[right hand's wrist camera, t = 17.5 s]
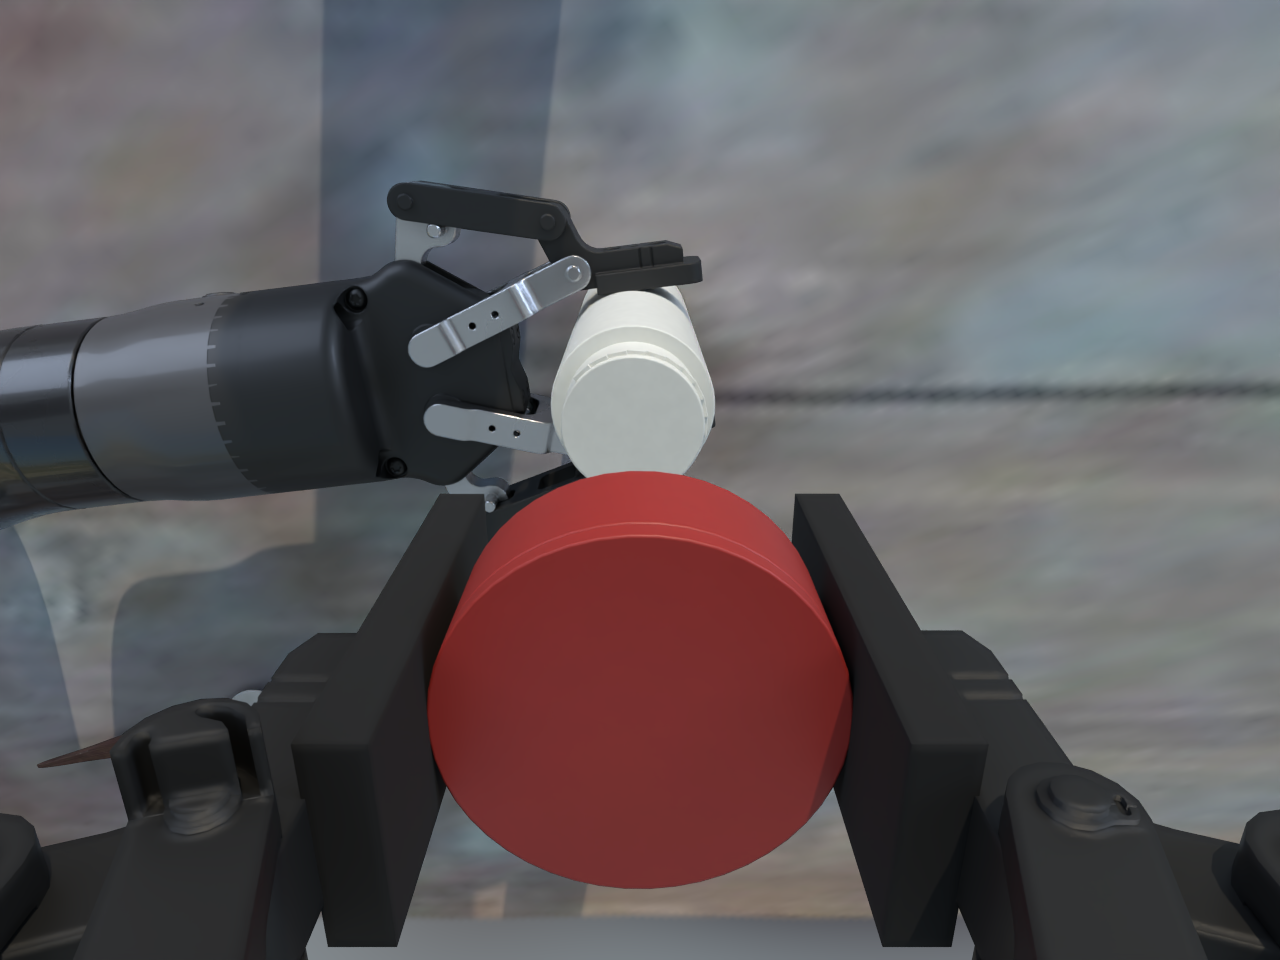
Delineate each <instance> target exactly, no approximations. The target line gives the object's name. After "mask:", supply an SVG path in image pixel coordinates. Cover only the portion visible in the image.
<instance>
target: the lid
mask: <svg viewBox="0 0 1280 960" xmlns="http://www.w3.org/2000/svg"><path fill="white" fill-rule="evenodd" d="M852 712H853V693H852V688H851V682H850V677H849V672H848V669H847V666H846V663H845V660H844V658H843V655H842V652H841V649H840V647H839V644H838V642H837V640H836V637H835V635H834V632H833V630H832V627H831V625H830V623H829V620H828V618H827V615H826V613H825V610H824V608H823V606H822V603H821V601H820V598H819V596H818V593H817V591H816V589H815V586H814V584H813V581H812V579H811V576H810V574H809V572H808V569H807V568H806V566H805V564H804V562H803V560H802V558H801V556H800V555H799V553H798V551H797V550H796V548H795V547H794V546H793V544H792V543H791V542H790V540H789V539H788V538H787V536H786V535H785V534H784V532H783V531H782V530H781V529H780V528H779V527H778V526H777V525H776V524H775V523H774V522H773V521H772V520H771V519H770V518H769V517H767V516H766V515H765V514H763V513H762V512H761V511H760V510H758V509H757V508H756V507H754V506H753V505H752V504H750V503H749V502H747V501H745V500H744V499H742V498H740V497H738V496H737V495H735V494H733V493H731V492H730V491H728V490H725V489H723V488H720V487H718V486H716V485H713V484H711V483H708V482H706V481H702V480H699V479H695V478H691V477H687V476H684V475H679V474H672V473H664V472H657V471H625V472H616V473H607V474H602V475H597V476H593V477H589V478H585V479H580V480H578V481H575V482H572V483H570V484H567V485H564V486H562V487H559V488H557V489H555V490H553V491H551V492H549V493H547V494H545V495H543V496H541V497H540V498H538V499H536V500H534V501H533V502H531V503H530V504H529V505H527V506H526V507H524V508H523V509H522V510H520V511H519V512H517V513H516V514H515V515H514V516H513V517H512V518H511V519H510V520H509V521H508V522H507V523H505V524H504V525H503V526H502V527H501V528H500V529H499V530H498V532H497V533H496V534H495V535H494V537H493V538H492V539H491V540H490V542H489V543H488V544H487V545H486V546H485V548H484V550H483V551H482V553H481V555H480V557H479V558H478V560H477V562H476V563H475V565H474V567H473V570H472V572H471V575H470V577H469V579H468V582H467V584H466V587H465V589H464V592H463V594H462V597H461V599H460V601H459V604H458V606H457V609H456V611H455V614H454V616H453V618H452V621H451V623H450V626H449V628H448V631H447V633H446V636H445V638H444V640H443V643H442V645H441V648H440V650H439V653H438V655H437V658H436V660H435V663H434V665H433V669H432V673H431V678H430V682H429V687H428V695H427V717H428V726H429V736H430V743H431V748H432V752H433V756H434V759H435V762H436V764H437V767H438V769H439V771H440V774H441V776H442V779H443V781H444V783H445V784H446V786H447V788H448V789H449V791H450V793H451V794H452V796H453V798H454V799H455V801H456V802H457V803H458V805H459V806H460V807H461V808H462V810H463V811H464V812H465V813H466V815H467V816H468V817H469V818H470V819H471V820H472V821H473V822H474V823H475V824H476V825H477V826H478V827H479V828H480V829H481V830H482V831H483V832H484V833H485V834H486V835H487V836H488V837H490V838H491V839H492V840H494V841H495V842H496V843H498V844H499V845H500V846H502V847H503V848H504V849H506V850H507V851H509V852H511V853H512V854H514V855H516V856H517V857H519V858H521V859H523V860H524V861H526V862H528V863H530V864H532V865H534V866H537V867H539V868H541V869H543V870H546V871H548V872H550V873H553V874H556V875H559V876H562V877H565V878H568V879H571V880H574V881H579V882H584V883H588V884H593V885H598V886H606V887H615V888H624V889H654V888H665V887H676V886H681V885H686V884H692V883H697V882H701V881H705V880H708V879H711V878H715V877H718V876H721V875H725V874H727V873H729V872H732V871H734V870H737V869H739V868H741V867H744V866H746V865H748V864H750V863H752V862H754V861H755V860H757V859H759V858H761V857H763V856H765V855H766V854H768V853H770V852H771V851H772V850H774V849H775V848H777V847H778V846H780V845H781V844H782V843H784V842H785V841H787V840H788V839H789V838H790V837H791V836H792V835H794V834H795V833H796V832H797V831H798V830H799V829H800V828H801V827H802V826H803V825H805V824H806V823H807V821H808V820H809V819H810V818H811V817H812V816H813V814H814V813H815V812H816V811H817V810H818V809H819V807H820V806H821V805H822V803H823V802H824V800H825V799H826V797H827V796H828V794H829V793H830V791H831V789H832V788H833V786H834V785H835V782H836V780H837V778H838V776H839V774H840V771H841V769H842V767H843V765H844V762H845V758H846V755H847V751H848V748H849V740H850V731H851V722H852Z"/></svg>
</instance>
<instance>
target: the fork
mask: <svg viewBox="0 0 1280 960" xmlns="http://www.w3.org/2000/svg"><path fill="white" fill-rule="evenodd" d="M261 692H262V691H260V690H245V691H242V692H240V693H239V694H237V695H236V696H234V697H233V698H232V699H233V700H238V701H242V702H246V703H248V704H249V705H250V706H252V705H253V703H254V702H257V701H258V696H259V695H260V693H261ZM121 736H122V735H121ZM121 736H118V737H115V738H112V739H109V740H107V741H104V742H101V743H98V744H96V745H93V746H90V747H87V748H84V749H81V750H78V751H75V752H72V753H68V754H65V755H62V756H59V757H56V758H53V759H50V760H47V761H45V762H42V763H40V764H38V765H37V766H38V768H45V767H53V766H60V765H67V764H73V763H79V762H85V761H92V760H99V759H106V758H111V756H110V753H109V751H110V750H111V749H112V747H113V746H114V745H115V743H116V742H117V741H118V740H119V738H120V737H121Z"/></svg>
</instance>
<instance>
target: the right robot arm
mask: <svg viewBox="0 0 1280 960" xmlns="http://www.w3.org/2000/svg"><path fill="white" fill-rule="evenodd" d="M487 544H488V538H487V525H486V511H485V497H484V494H440V495H439V497H438V498H437V500H436V502H435V504H434V505H433V507H432V509H431V510H430V512H429V514H428V515H427V517H426V519H425V520H424V522H423V524H422V525H421V527H420V529H419V530H418V532H417V534H416V535H415V537H414V539H413V540H412V542H411V544H410V545H409V547H408V549H407V550H406V552H405V554H404V555H403V557H402V559H401V560H400V562H399V564H398V565H397V567H396V569H395V570H394V572H393V574H392V575H391V577H390V579H389V580H388V582H387V584H386V585H385V587H384V589H383V590H382V592H381V594H380V596H379V597H378V599H377V601H376V602H375V604H374V606H373V607H372V609H371V611H370V612H369V614H368V616H367V617H366V619H365V621H364V622H363V624H362V626H361V627H360V629H359V631H358V632H357V633H318V634H316V635H315V636H313V637H312V638H310V639H309V640H308V641H306V642H305V643H303V644H302V645H300V646H299V647H297V648H296V649H295V650H293V651H292V652H290V653H289V654H288V655H287V657H286V658H285V660H284V661H283V662H282V664H281V665H280V667H279V668H278V669H277V671H276V672H275V674H274V675H273V676H272V681H271V682H268V683H267V685H266V686H265V688H264V689H263V690H262V692H261V693H260V695H259V696H258V701H257V702H254V703H253V705H252V706H250V705H249V704H248V703H246V702H242V701H238V700H233V699H229V698H214V699H199V700H195V701H191V702H187V703H183V704H179V705H175V706H171V707H169V708H167V709H165V710H162V711H160V712H158V713H156V714H153V715H151V716H149V717H147V718H145V719H143V720H142V721H141V722H139V723H138V724H136V725H135V726H133V727H132V728H131V729H129V730H128V731H126V732H125V733H124V734H123V735H122V736H121V737H120V738H119V740H118V741H117V742H116V743H115V745H114V746H113V747H112V749H111V750H110V751H109V753H110V756H111V760H112V763H113V767H114V771H115V774H116V778H117V781H118V785H119V788H120V792H121V795H122V799H123V802H124V806H125V809H126V813H127V817H128V820H129V821H128V823H127V826H126V827H124V828H120V829H117V830H113V831H110V832H107V833H103V834H98V835H94V836H89V837H85V838H80V839H76V840H72V841H67V842H63V843H58V844H54V845H50V846H45V847H41V846H40V843H39V840H38V837H37V834H36V831H35V828H34V826H33V825H31V824H30V823H29V822H28V821H27V820H25V819H24V818H23V817H22V816H17V815H9V814H2V813H0V960H308V958H307V952H306V945H307V943H308V940H309V938H310V936H311V933H312V931H313V928H314V926H315V924H316V922H317V919H318V917H319V914H320V912H321V911H322V917H323V922H324V928H325V933H326V938H327V944H328V947H397V945H398V942H399V938H400V935H401V932H402V929H403V925H404V922H405V919H406V916H407V912H408V909H409V906H410V903H411V899H412V896H413V893H414V890H415V886H416V883H417V880H418V877H419V873H420V870H421V867H422V864H423V861H424V857H425V854H426V851H427V848H428V844H429V841H430V838H431V835H432V831H433V828H434V825H435V822H436V818H437V815H438V812H439V809H440V805H441V802H442V799H443V796H444V792H445V789H446V784H445V783H444V781H443V779H442V776H441V774H440V771H439V769H438V767H437V764H436V762H435V759H434V756H433V752H432V748H431V743H430V736H429V726H428V717H427V695H428V687H429V682H430V678H431V673H432V669H433V665H434V663H435V660H436V658H437V655H438V653H439V650H440V648H441V645H442V643H443V640H444V638H445V636H446V633H447V631H448V628H449V626H450V623H451V621H452V618H453V616H454V614H455V611H456V609H457V606H458V604H459V601H460V599H461V597H462V594H463V592H464V589H465V587H466V584H467V582H468V579H469V577H470V575H471V572H472V570H473V567H474V565H475V563H476V562H477V560H478V558H479V557H480V555H481V553H482V551H483V550H484V548H485V546H486V545H487ZM792 544H793V546H794V547H795V548H796V550H797V551H798V553H799V555H800V556H801V558H802V560H803V562H804V564H805V566H806V568H807V569H808V572H809V574H810V576H811V579H812V581H813V584H814V586H815V589H816V591H817V593H818V596H819V598H820V601H821V603H822V606H823V608H824V610H825V613H826V615H827V618H828V620H829V623H830V625H831V627H832V630H833V632H834V635H835V637H836V640H837V642H838V644H839V647H840V649H841V652H842V655H843V658H844V660H845V663H846V666H847V669H848V672H849V677H850V682H851V688H852V693H853V712H852V722H851V731H850V740H849V748H848V751H847V755H846V758H845V762H844V765H843V767H842V769H841V771H840V774H839V776H838V778H837V780H836V782H835V785H834V786H833V788H834V791H835V794H836V797H837V801H838V804H839V807H840V810H841V814H842V817H843V820H844V823H845V826H846V830H847V833H848V836H849V839H850V843H851V846H852V849H853V852H854V856H855V859H856V862H857V865H858V869H859V872H860V875H861V878H862V882H863V885H864V888H865V891H866V895H867V898H868V901H869V904H870V908H871V911H872V914H873V917H874V920H875V924H876V927H877V930H878V933H879V937H880V940H881V943H882V946H883V947H951V946H952V941H953V935H954V930H955V925H956V919H957V914H958V909H960V912H961V914H962V916H963V919H964V921H965V923H966V926H967V928H968V930H969V933H970V935H971V937H972V940H973V942H974V944H975V947H974V952H973V957H972V960H1280V810H1274V811H1267V812H1259V813H1258V814H1257V815H1256V816H1254V817H1253V818H1252V819H1251V820H1250V821H1248V822H1247V823H1246V826H1245V829H1244V832H1243V835H1242V838H1241V841H1240V844H1237V843H1233V842H1228V841H1224V840H1219V839H1215V838H1211V837H1206V836H1202V835H1197V834H1193V833H1188V832H1184V831H1179V830H1175V829H1171V828H1168V827H1165V826H1161V825H1158V824H1154V823H1153V822H1152V820H1151V818H1150V817H1149V815H1148V814H1147V812H1146V811H1145V809H1144V808H1143V806H1142V805H1141V803H1140V802H1139V800H1137V799H1136V798H1135V797H1134V796H1132V795H1131V794H1130V793H1129V792H1127V791H1126V790H1125V789H1124V788H1122V787H1121V786H1120V785H1119V784H1117V783H1115V782H1113V781H1112V780H1110V779H1108V778H1106V777H1104V776H1102V775H1100V774H1098V773H1096V772H1094V771H1091V770H1088V769H1084V768H1081V767H1077V766H1073V764H1072V763H1071V762H1070V760H1069V759H1068V757H1067V756H1066V755H1065V753H1064V752H1063V750H1062V749H1061V748H1060V746H1059V745H1058V744H1057V742H1056V741H1055V739H1054V738H1053V737H1052V735H1051V734H1050V732H1049V731H1048V730H1047V728H1046V727H1045V725H1044V724H1043V723H1042V721H1041V720H1040V718H1039V717H1038V716H1037V714H1036V713H1035V711H1034V710H1033V709H1032V707H1031V706H1030V704H1029V703H1028V702H1027V700H1023V698H1022V693H1021V692H1020V690H1019V689H1018V688H1017V686H1016V685H1015V683H1014V682H1013V681H1012V679H1008V674H1007V672H1006V671H1005V670H1004V668H1003V667H1002V665H1001V664H1000V663H999V661H998V660H997V658H996V657H995V656H994V654H993V653H992V651H991V650H989V649H988V648H986V647H985V646H983V645H982V644H980V643H979V642H978V641H976V640H975V639H973V638H972V637H970V636H969V635H967V634H966V633H965V632H963V631H921V630H920V628H919V627H918V625H917V623H916V621H915V620H914V618H913V616H912V615H911V613H910V611H909V610H908V608H907V606H906V605H905V603H904V601H903V600H902V598H901V596H900V595H899V593H898V591H897V590H896V588H895V586H894V585H893V583H892V581H891V580H890V578H889V576H888V575H887V573H886V571H885V570H884V568H883V566H882V565H881V563H880V561H879V560H878V558H877V556H876V555H875V553H874V551H873V550H872V548H871V546H870V545H869V543H868V541H867V540H866V538H865V536H864V534H863V533H862V531H861V529H860V528H859V526H858V524H857V523H856V521H855V519H854V518H853V516H852V514H851V513H850V511H849V509H848V508H847V506H846V504H845V503H844V501H843V499H842V498H841V496H840V494H795V504H794V518H793V531H792Z"/></svg>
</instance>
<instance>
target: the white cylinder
mask: <svg viewBox="0 0 1280 960" xmlns="http://www.w3.org/2000/svg"><path fill="white" fill-rule="evenodd" d="M714 413H715V396H714V389H713V385H712V381H711V378H710V375H709V372H708V369H707V366H706V364H705V361H704V358H703V355H702V352H701V349H700V346H699V343H698V340H697V337H696V335H695V332H694V329H693V326H692V323H691V320H690V317H689V314H688V311H687V308H686V306H685V303H684V300H683V298H682V295H681V293H680V291H679V290H678V288H677V287H676V286H668V287H660V288H652V289H644V290H635V291H625V292H618V293H611V294H603V295H598V293H597V288H596V289H589V290H588V292H587V294H586V296H585V298H584V301H583V304H582V306H581V309H580V312H579V315H578V317H577V320H576V323H575V326H574V328H573V331H572V334H571V337H570V339H569V342H568V345H567V348H566V350H565V353H564V356H563V359H562V361H561V364H560V367H559V370H558V372H557V375H556V378H555V381H554V384H553V389H552V393H551V415H552V420H553V425H554V427H555V430H556V433H557V435H558V437H559V439H560V442H561V443H562V445H563V446H564V448H565V450H566V452H567V454H568V456H569V458H570V460H571V461H572V463H573V464H574V466H575V467H576V468H577V469H578V470H579V471H580V472H581V473H582V474H583V475H584V476H585V477H586V478H589V477H593V476H597V475H602V474H607V473H616V472H625V471H657V472H664V473H672V474H679V475H683V474H684V473H685V472H686V471H687V470H688V469H689V468H690V466H691V465H692V464H693V462H694V461H695V459H696V457H697V456H698V453H699V452H700V451H701V448H702V446H703V445H704V443H705V441H706V440H707V437H708V435H709V433H710V431H711V427H712V424H713V420H714Z"/></svg>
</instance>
